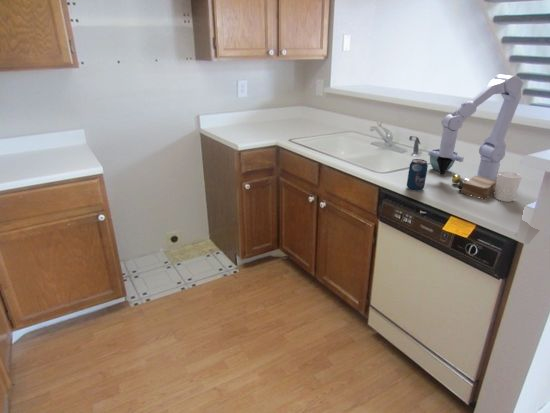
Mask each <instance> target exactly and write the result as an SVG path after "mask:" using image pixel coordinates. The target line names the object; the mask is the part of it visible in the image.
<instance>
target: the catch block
mask: <svg viewBox="0 0 550 413" xmlns="http://www.w3.org/2000/svg"><path fill="white" fill-rule="evenodd" d="M468 179H469V180H467V181H466V182H464V183H463V186H462V190H461V193H464V194H463V195H465V194H468V195H467V196H469V195H472V196H471V197H473V196H476V197H475V198H477V197H480V198H479V199H481V198H483V199H482V200H484V199H485V198H486V199H487V198H489V197H490V196H491V194H492V195H493V194H495V187H496V181H497V180H493V179H488V178H484V177H480V176H477V175H474V176H473V177H471V178H468ZM461 193H460V194H461ZM488 196H489V197H488ZM486 199H485V200H486Z"/></svg>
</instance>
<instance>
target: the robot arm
mask: <svg viewBox="0 0 550 413" xmlns="http://www.w3.org/2000/svg"><path fill="white" fill-rule="evenodd" d="M523 85H524V81H522V79H521V78H520V76H518V75H507V74H504V73H501V74H500V73H499V74H497V75H496V76H494V78H493V79H491V80H490V81H489V83H488V85H486V86H485V87H484V88H483V89H482V90H481V91H480V92H479V93H478V94H476V96H475V97H473V98H472V99H471V100H470V101H468V100H467V101H463V102H462V103H461V104H460V105H459V107H458V108H456V109H455V110H453V111H451V114H447V115H445V116H444V117H443V119H442V120H441V125H442V135H441V140H440V144H439V148H438V149H439V151H432V150H433V149H431V150H428V152H427V153H428V154H427V156H429V157H430V156H431V155H432V156H437V157H438V159H437V162H438V165H439V175H441V176H444V175H445V173H446V169H447V168H448V166H449V164H450V163H451V162H452V161H453V160H455V161H457V162H460V163H462V162H464V159H465V157H464V156H462V155H458V154H457V155H455V154H453V153H454V152H455V147H456V142H457V137H458V131H459V130H460V129H461V128H462V126H463V123H464V122H465V121H466V120H467V119H469V118H470V117H471V116H473V115H474V114H475V113H476V112H477V108H478V107H480V105H482V104H483V103H485V101H487V100H488V99H490V98H491V97H493V96H494V95H497V94H500V96H502V98H503V102H502V104H501V107H500V109H499V112H498V115H497V116H496V117H497V118H496V120H495V123H494V125H493V127H492V130H491V133H490V136H488V137H486V138H485V139H484V141H483V143H482V144H481V145H480V147H479V148H478V153H479V155H480V161H479V165H478V170H477V173H476V176H480V177H484V178H488V179H493V180H497V176H498V172H499V169H500V166H501V164H500V163H501V161H502V160H503V159H504V158H505V156H506V148H507V144H506V142H505V141H506V140H505V138H506V135H507V132H508V131H509V128H510V125H511V123H512V121H513V118H514V115H515V113H516V110H517V108H518V106H519V103H520V101H521V99H522V98H521V97H522V88H523Z"/></svg>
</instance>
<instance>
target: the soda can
mask: <svg viewBox="0 0 550 413" xmlns="http://www.w3.org/2000/svg"><path fill="white" fill-rule="evenodd" d="M428 166H429V165H428V161H427V160H425V159H420V158H415V159H414V158H413V159H412V160H411V162H410V164H409V167H408V172H407V173H408V174H407V181H406V187H407V189H408V190H409V189H410V191H412V192H421V191H423V189H425V185H426V180H427V172H428Z"/></svg>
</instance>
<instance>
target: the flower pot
mask: <svg viewBox="0 0 550 413" xmlns="http://www.w3.org/2000/svg"><path fill="white" fill-rule="evenodd" d="M439 149H440V148H438V149H431V150H432V151H439ZM453 154H455V155H458V152H456V151H454V153H453ZM437 159H438V157H437V156H432V155H431V156H430V155H429V162H430V166H431V168H432V169H434V170H435V171H439V165H438V162H437ZM455 161H456V160H453V161H452V162H451V163H450V164H449V166H448V168H447V169H446V171H449V170H450V169H451V168H452V167H453V166H454V164H455ZM446 171H445V172H446ZM439 172H440V171H439Z"/></svg>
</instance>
